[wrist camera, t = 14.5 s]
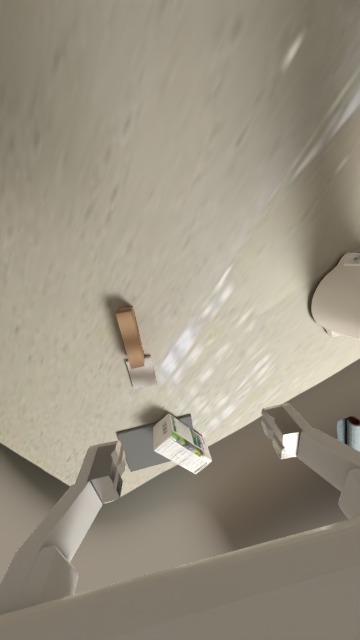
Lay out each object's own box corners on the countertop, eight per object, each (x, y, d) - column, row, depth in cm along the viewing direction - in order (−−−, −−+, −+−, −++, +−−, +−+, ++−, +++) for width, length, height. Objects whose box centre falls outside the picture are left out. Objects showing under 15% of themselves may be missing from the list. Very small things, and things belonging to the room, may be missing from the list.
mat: (190, 414, 43) (190, 416, 42) (196, 451, 47) (196, 453, 47) (117, 432, 41) (117, 434, 40) (131, 469, 45) (130, 471, 45)
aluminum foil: (352, 455, 63) (363, 465, 60) (336, 462, 63) (346, 473, 60) (353, 414, 55) (365, 423, 52) (334, 422, 55) (346, 432, 52)
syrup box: (168, 412, 41) (206, 437, 46) (151, 427, 41) (190, 451, 46) (171, 434, 35) (214, 460, 40) (151, 451, 36) (195, 475, 41)
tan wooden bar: (112, 309, 31) (107, 315, 28) (139, 305, 32) (138, 310, 29) (134, 387, 38) (132, 399, 34) (156, 382, 38) (157, 393, 35)
